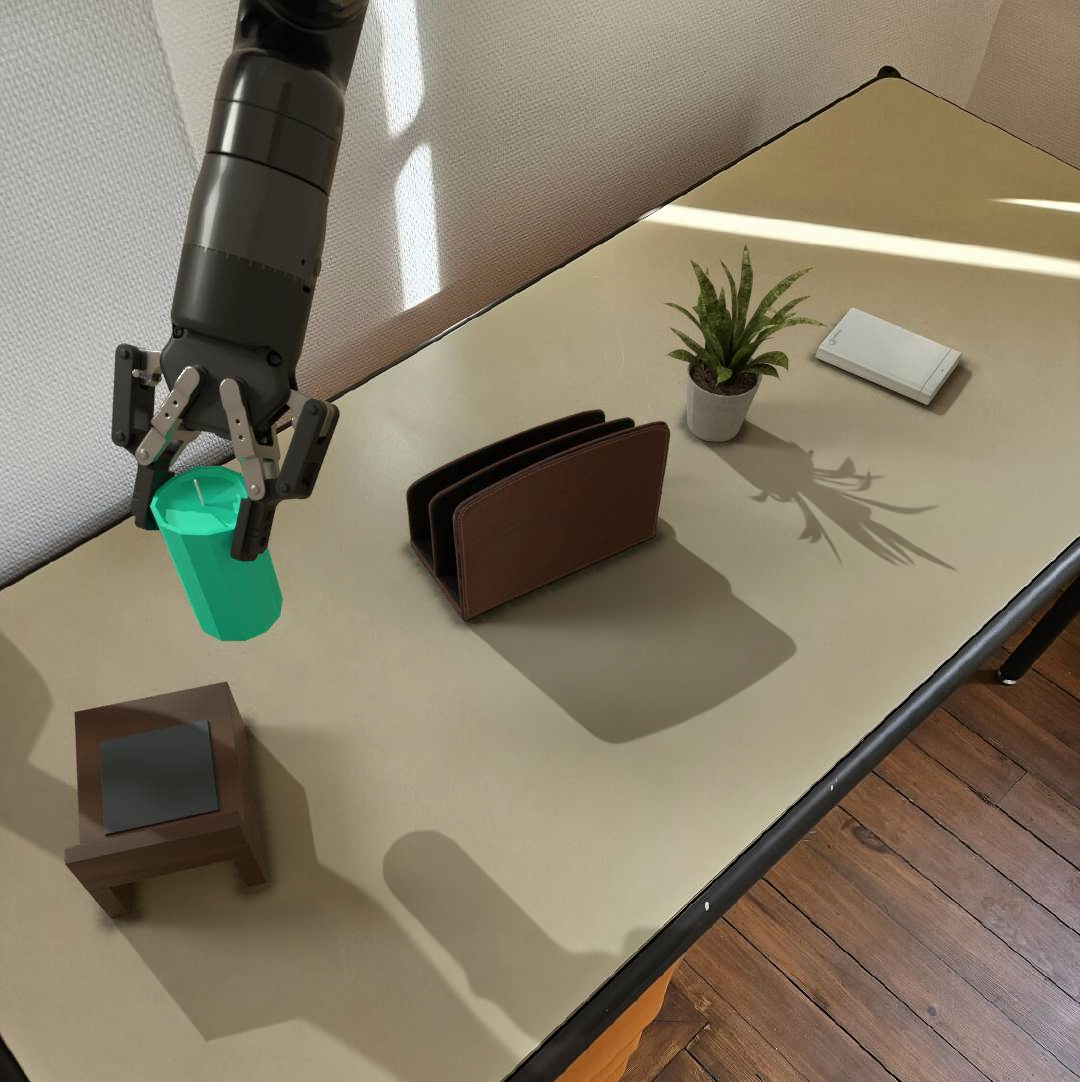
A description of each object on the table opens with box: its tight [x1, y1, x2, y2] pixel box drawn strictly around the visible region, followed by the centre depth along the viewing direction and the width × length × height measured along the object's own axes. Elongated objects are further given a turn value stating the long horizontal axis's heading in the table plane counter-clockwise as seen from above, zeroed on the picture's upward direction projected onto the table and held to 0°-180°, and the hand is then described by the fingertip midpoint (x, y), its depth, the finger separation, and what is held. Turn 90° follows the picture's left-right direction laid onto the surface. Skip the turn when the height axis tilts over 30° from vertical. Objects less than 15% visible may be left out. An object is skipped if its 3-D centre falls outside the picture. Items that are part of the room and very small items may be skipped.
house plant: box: [663, 243, 829, 443], centre depth 97 cm, size 14×14×16 cm
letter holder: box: [405, 408, 671, 621], centre depth 89 cm, size 10×20×14 cm, turn 121°
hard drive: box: [814, 307, 963, 406], centre depth 108 cm, size 2×8×12 cm
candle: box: [150, 465, 284, 642], centre depth 68 cm, size 6×6×12 cm
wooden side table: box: [63, 680, 267, 919], centre depth 75 cm, size 14×11×9 cm
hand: (196, 543), depth 65 cm, fingers closed on candle, 6 cm apart
